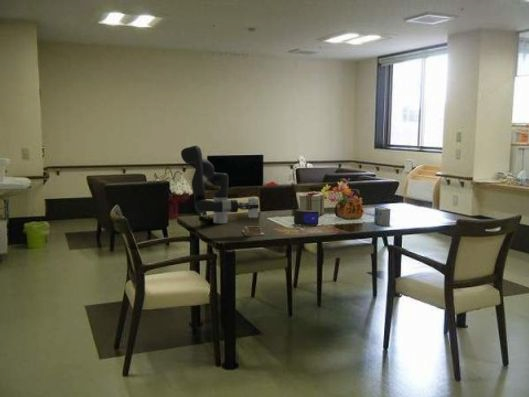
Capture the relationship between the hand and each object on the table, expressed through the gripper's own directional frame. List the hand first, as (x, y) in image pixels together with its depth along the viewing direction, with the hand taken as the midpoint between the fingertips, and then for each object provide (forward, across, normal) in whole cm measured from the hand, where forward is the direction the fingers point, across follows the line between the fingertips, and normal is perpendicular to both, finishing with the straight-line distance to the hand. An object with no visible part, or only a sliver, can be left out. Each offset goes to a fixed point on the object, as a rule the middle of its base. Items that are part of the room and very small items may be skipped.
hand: (257, 205), depth 317 cm
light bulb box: (+91, +20, +16) cm, 94 cm away
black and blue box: (+39, +25, +17) cm, 49 cm away
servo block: (-3, 0, +6) cm, 7 cm away
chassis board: (-2, 0, +17) cm, 17 cm away
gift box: (+53, +64, +16) cm, 85 cm away
